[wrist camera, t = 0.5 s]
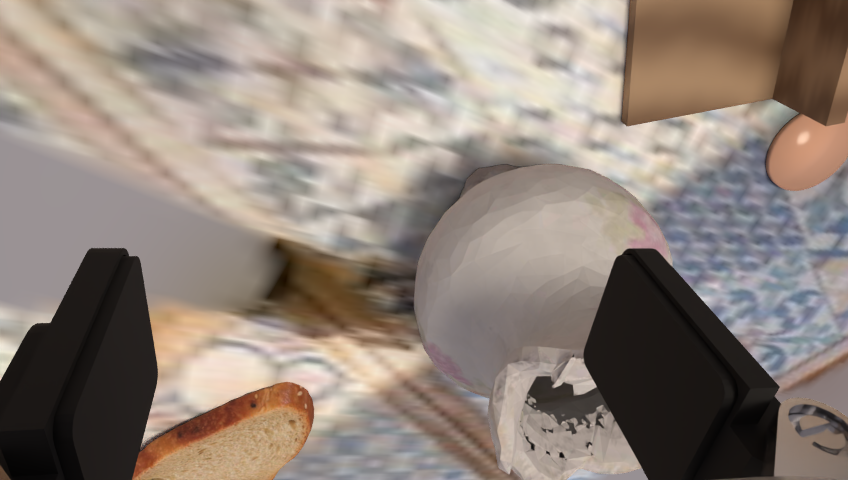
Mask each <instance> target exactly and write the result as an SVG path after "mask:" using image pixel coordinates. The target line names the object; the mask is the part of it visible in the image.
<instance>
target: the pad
mask: <svg viewBox="0 0 848 480" xmlns="http://www.w3.org/2000/svg"><path fill="white" fill-rule="evenodd" d="M847 157H848V113H847V117H846V120H845V123H841V124H836V125H831V126H824V125H822V124H820V123H818V122H816V121H815V120H813V119H811V118H809V117H807V116H805V115H803V114H801V113H800V114H798V115H797V116H795V117H794V118H793V119H791V120H790V121H789V122H788V123H787V124H786V125H785V126H784V127H783V128H782V129H781V130H780V131H779V133H778V134H777V135H776V137H775V138H774V140H773V142H772V144H771V145H770V148H769V150H768V154H767V158H766V171H767V174H768V176H769V178H770V179H771V180H772V182H774V183H775V184H776V185H778V186H779V187H781V188H783V189H786V190H791V191H798V190H804V189H808V188H811V187H813V186H815V185H817V184H819V183H821V182H823V181H824V180H826V179H827V178H829V177H830V176H831V175H832V174H833V173H835V172H836V171H837V170H838V169H839V167H840V166H841V165H842V164H843V163H844V161H845V160H846V159H847Z"/></svg>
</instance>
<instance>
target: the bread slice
mask: <svg viewBox="0 0 848 480" xmlns="http://www.w3.org/2000/svg"><path fill="white" fill-rule="evenodd" d="M313 419H314V406H313V401H312V398H311V396H310V395H309V393H308V391H307V390H306V389H305V388H303V387H302V386H300V385H297V384H294V383H290V382H284V383H278V384H275V385H273V386H271V387H267V388H263V389H260V390H258V391H255V392H251V393H247V394H245V395H244V396H242V397H240V398H237V399H234V400H231V401H229V402H228V403H226V404H225V405H223V406H221V407H218V408H215V409H213V410H212V411H210V412H208V413H206V414H203V415H201V416H198V417H196V418H194V419H192V420H190V421H189V422H187V423H185V424H183V425H180V426H178V427H176V428H175V429H173V430H171V431H170V432H168V433H166V434H164V435H162V436H160V437H158V438H157V439H155V440H154V441H152V442H151V443H149V444H148V445H147V446H146V447H145V448H144V449H143V450H142V451H140V452H139V455H138V459H137V462H136V466H135V470H134V474H133V478H132V480H272V479H273V478H274V477H275V476H276V474H277V472H278V471H279V469H281V468H282V467H283V466H284V465H285V464H286V463H287V462H289V461H290V460H292V459H293V458H294V457H295V456H296V455H297V454H298V453H299V451H300V450H301V448H302V447H303V446H304V444H305V442H306V440H307V437H308V435H309V433H310V431H311V428H312V424H313Z"/></svg>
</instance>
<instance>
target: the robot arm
mask: <svg viewBox="0 0 848 480" xmlns="http://www.w3.org/2000/svg"><path fill="white" fill-rule="evenodd" d="M583 358H584V363H585V366H586V368H587V370H588V372H589V374H590V375H591V377H592V379H593V381H594V383H595V384H596V386H597V388H598V390H599V392H600V393H601V395H602V397H603V399H604V401H605V402H606V404H607V406H608V408H609V410H610V411H611V413H612V415H613V417H614V419H615V420H616V422H617V424H618V426H619V428H620V429H621V431H622V433H623V435H624V437H625V438H626V440H627V442H628V444H629V446H630V447H631V449H632V451H633V453H634V455H635V456H636V458H637V460H638V462H639V464H640V465H641V467H642V469H643V471H644V473H645V474H646V476H647V478H648V480H848V417H846V416H845V415H843V414H842V413H841V412H839V411H838V410H836V409H834V408H832V407H830V406H828V405H826V404H824V403H821V402H818V401H815V400H811V399H806V398H791V399H787V400H786V401H784V402H783V403H782V404H781V403H780V402H779V401H778V400H777V399H776V398H775V394H776V392H777V391H778V389H779V386H778V385H777V383H776V382H775V381H774V380H773V379H772V378H771V377H770V376H769V374H768V373H767V372H766V371H765V370H764V369H763V368H762V367H761V366H760V364H759V363H758V362H757V361H756V360H755V359H754V358H753V357H752V355H751V354H750V353H749V352H748V351H747V350H746V349H745V348H744V347H743V345H742V344H741V343H740V342H739V341H738V340H737V339H736V338H735V336H734V335H733V334H732V333H731V332H730V331H729V330H728V329H727V328H726V326H725V325H724V324H723V323H722V322H721V321H720V320H719V319H718V317H717V316H716V315H715V314H714V313H713V312H712V311H711V310H710V308H709V307H708V306H707V305H706V304H705V303H704V302H703V301H702V300H701V298H700V297H699V296H698V295H697V294H696V293H695V292H694V291H693V289H692V288H691V287H690V286H689V285H688V284H687V283H686V282H685V281H684V279H683V278H682V277H681V276H680V275H679V274H678V273H677V272H676V270H675V269H674V268H673V267H672V266H671V265H670V264H669V263H668V261H667V260H666V259H665V258H664V257H663V256H662V255H661V254H660V253H659V251H657V250H656V249H653V248H629V249H626V250H625V251H624V252H623V253H622V255H619V256H617V257H616V259H615V261H614V264H613V266H612V269H611V272H610V275H609V278H608V281H607V284H606V287H605V290H604V293H603V296H602V298H601V301H600V304H599V307H598V310H597V313H596V316H595V319H594V322H593V325H592V327H591V330H590V333H589V336H588V339H587V342H586V345H585V348H584V353H583ZM157 377H158V368H157V360H156V354H155V348H154V342H153V336H152V330H151V324H150V317H149V311H148V305H147V299H146V293H145V287H144V281H143V275H142V268H141V263H140V259H139V257H137V256H129V254H128V252H127V250H126V249H124V248H91V249H89V250H88V252H87V253H86V255H85V257H84V259H83V261H82V263H81V265H80V267H79V269H78V271H77V273H76V274H75V277H74V278H73V281H72V282H71V284H70V286H69V288H68V290H67V292H66V294H65V296H64V298H63V300H62V302H61V304H60V305H59V307H58V309H57V311H56V313H55V315H54V317H53V319H52V321H51V323H37V324H35V325H33V326H32V327H31V328H30V330H29V331H28V332H27V334H26V336H25V337H24V339H23V341H22V343H21V345H20V346H19V348H18V350H17V352H16V354H15V356H14V357H13V359H12V361H11V363H10V365H9V366H8V368H7V370H6V372H5V374H4V375H3V377H2V379H1V381H0V480H132V478H133V474H134V470H135V466H136V462H137V459H138V455H139V451H140V447H141V443H142V439H143V435H144V432H145V428H146V424H147V420H148V416H149V412H150V409H151V405H152V401H153V397H154V393H155V389H156V385H157Z"/></svg>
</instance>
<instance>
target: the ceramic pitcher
mask: <svg viewBox="0 0 848 480" xmlns="http://www.w3.org/2000/svg"><path fill="white" fill-rule="evenodd" d="M629 248H653V249H656V250H657V251H659V253H660V254H661V255H662V256H663V257H664V258H665V259H666V260H667V261H668V263H669V264H670V265H671V266H672V258H671V254H670V250H669V247H668V243H667V241H666V239H665V237H664V236H663V234H662V232H661V230H660V228H659V226H658V224H657V223H656V221H655V220H654V219H653V217H652V216H651V215H650V214H649V213H648V212H647V211H646V209H645V208H644V207H643V206H642V205H641V203H640V202H639V201H638V200H637V198H636V197H634V196H633V195H632V194H631V193H629V192H628V191H627V190H626V189H624V188H623V187H621V186H620V185H618V184H616V183H615V182H613V181H612V180H610V179H608V178H606V177H604V176H602V175H600V174H598V173H596V172H594V171H592V170H589V169H583V168H578V167H572V166H566V165H561V164H539V165H533V166H527V167H521V168H519V167H513V166H510V165H508V164H505V165H496V166H492V167H485V168H478V169H477V170H476V171H475V172H474V173H473V174H472V175H471V176H469V177H468V178H467V180H466V183H465V185H464V188H463V191H462V193H461V195H460V198H459V200H458V201H457V202H456V203H455V204H454V205H453V206H451V207H450V208H449V209H448V210H447V211H446V212H445V213H444V215H443V216H442V218H441V219H440V220H439V222H438V223H437V225H436V226H435V228H434V229H433V231H432V232H431V234H430V235H429V237H428V239H427V241H426V244H425V246H424V248H423V251H422V253H421V256H420V258H419V261H418V267H417V273H416V280H415V293H414V310H415V315H416V319H417V324H418V329H419V333H420V336H421V340H422V343H423V346H424V349H425V351H426V352H427V354H428V355H429V357H430V358H431V360H432V362H433V363H434V364H435V365H436V366H437V368H438V369H439V370H440V371H441V372H443V373H444V374H445V375H446V376H447V377H449V378H450V379H451V380H452V381H453V382H455V383H456V384H457V385H458V386H460V387H462V388H464V389H466V390H468V391H471V392H473V393H475V394H478V395H481V396H483V397H486V398H490V400H489V407H488V420H489V425H490V431H491V436H492V440H493V444H494V447H495V450H496V458H497V463H498V467H499V469H501V470H503V471H504V472H506V473H508V474H510V470H511V469H512V470H513V471H514V472H515V473H516V474H517V475H518V476H519V477H520V478H521V479H522V480H566V479H568V478H569V477H570V476H571V475H572V474H573V473H575V472H576V471H577V470H578V469H584V470H588V471H591V472H595V473H600V474H619V473H626V472H630V471H634V470H637V469H640V468H642V467H641V465H640V464H639V462H638V460H637V458H636V456H635V455H634V453H633V451H632V449H631V447H630V446H629V444H628V442H627V440H626V438H625V437H624V435H623V433H622V431H621V429H620V428H619V426H618V424H617V422H616V420H615V419H614V417H613V415H612V413H611V411H610V410H609V408H608V406H607V404H606V402H605V401H604V399H603V397H602V395H601V393H600V392H599V390H598V388H597V386H596V384H595V383H594V381H593V379H592V377H591V375H590V374H589V372H588V370H587V368H586V366H585V363H584V358H583V353H584V348H585V345H586V342H587V339H588V336H589V333H590V330H591V327H592V325H593V322H594V319H595V316H596V313H597V310H598V307H599V304H600V301H601V298H602V296H603V293H604V290H605V287H606V284H607V281H608V278H609V275H610V272H611V269H612V266H613V264H614V261H615V259H616V257H617V256H619V255H622V253H623V252H624V251H625V250H626V249H629Z"/></svg>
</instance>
